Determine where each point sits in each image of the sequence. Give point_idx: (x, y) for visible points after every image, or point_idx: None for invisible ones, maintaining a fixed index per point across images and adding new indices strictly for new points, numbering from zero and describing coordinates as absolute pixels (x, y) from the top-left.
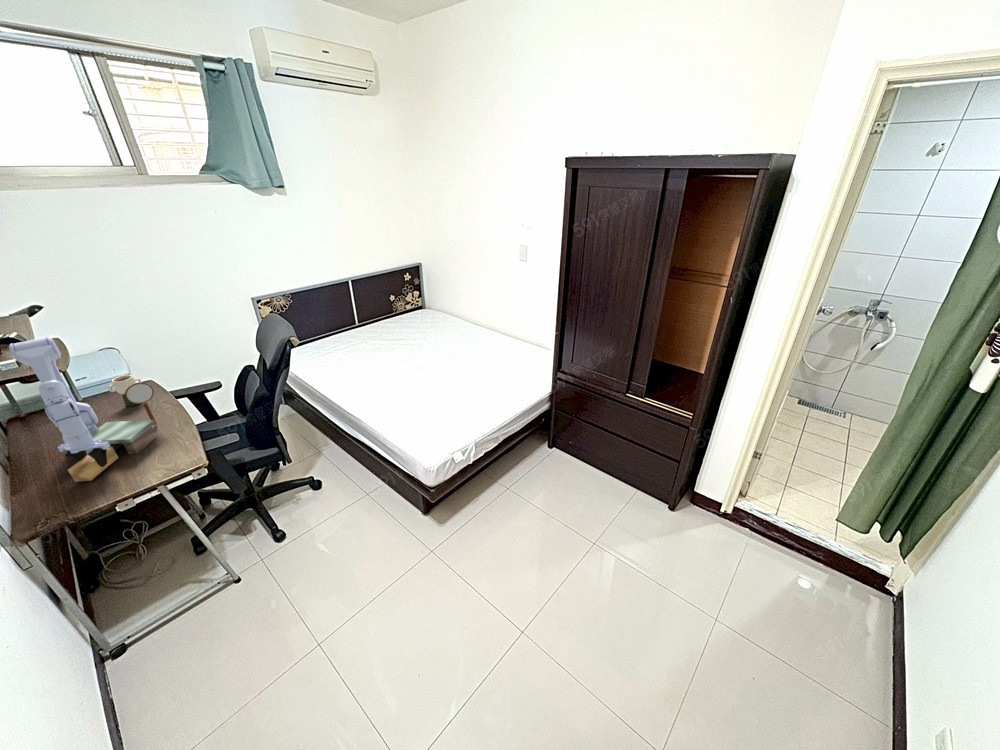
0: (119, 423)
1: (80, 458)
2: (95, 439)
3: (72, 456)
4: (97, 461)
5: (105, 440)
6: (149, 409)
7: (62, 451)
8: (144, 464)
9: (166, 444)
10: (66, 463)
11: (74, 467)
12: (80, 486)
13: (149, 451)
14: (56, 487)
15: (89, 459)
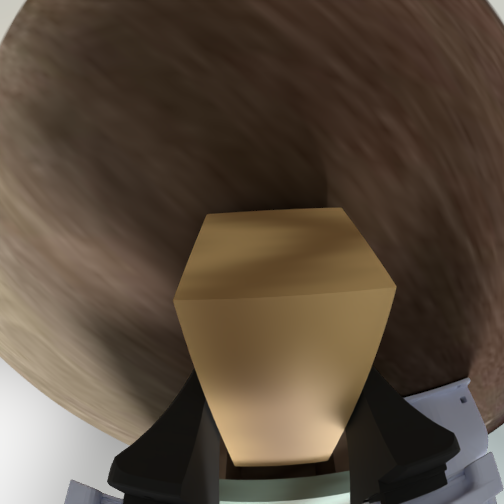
0: None
1: (360, 416)
2: (346, 495)
3: (392, 454)
4: (198, 390)
5: (276, 501)
6: None
7: (478, 461)
8: (75, 340)
9: (132, 422)
10: (467, 345)
11: (340, 329)
12: (272, 163)
13: (152, 407)
14: (440, 171)
15: (278, 412)
